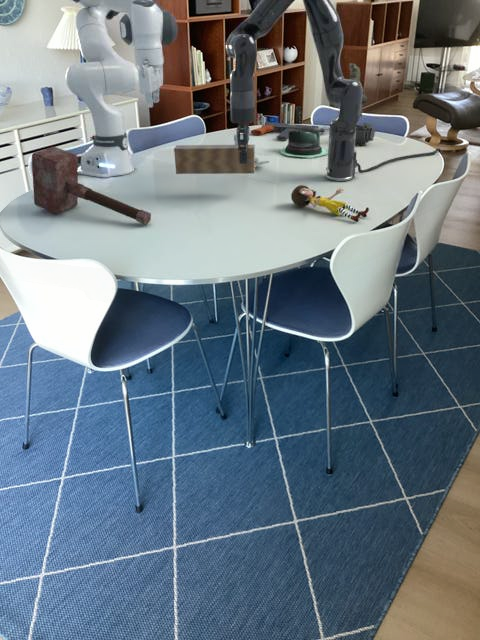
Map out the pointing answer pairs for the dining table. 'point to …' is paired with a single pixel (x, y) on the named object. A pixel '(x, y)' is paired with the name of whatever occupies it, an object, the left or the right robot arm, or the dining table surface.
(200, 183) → the dining table surface
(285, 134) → the submachine gun
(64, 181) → the sledgehammer
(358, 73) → the statue
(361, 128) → the toy
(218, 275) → the dining table surface
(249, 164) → the bar
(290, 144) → the dark green hat
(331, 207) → the figurine
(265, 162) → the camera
